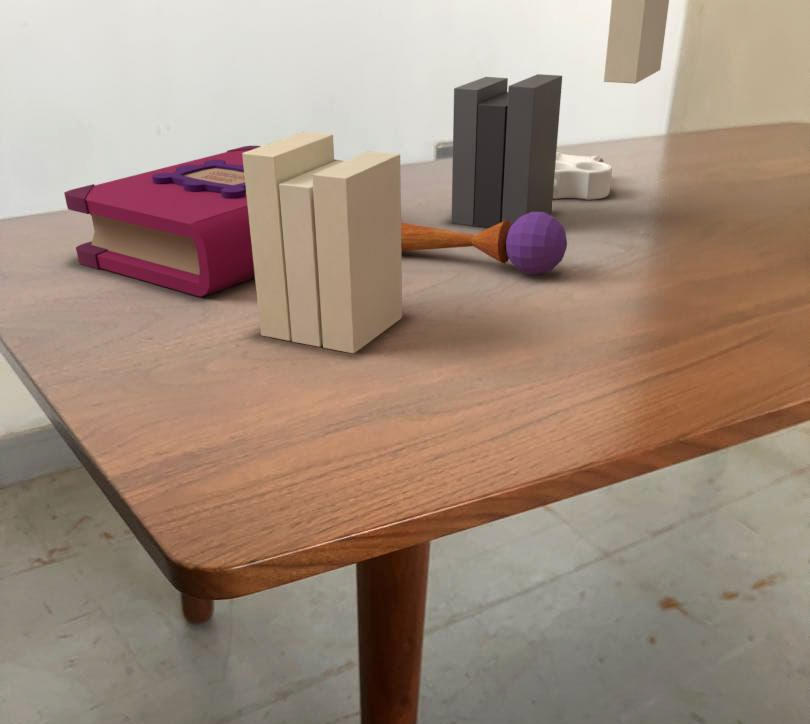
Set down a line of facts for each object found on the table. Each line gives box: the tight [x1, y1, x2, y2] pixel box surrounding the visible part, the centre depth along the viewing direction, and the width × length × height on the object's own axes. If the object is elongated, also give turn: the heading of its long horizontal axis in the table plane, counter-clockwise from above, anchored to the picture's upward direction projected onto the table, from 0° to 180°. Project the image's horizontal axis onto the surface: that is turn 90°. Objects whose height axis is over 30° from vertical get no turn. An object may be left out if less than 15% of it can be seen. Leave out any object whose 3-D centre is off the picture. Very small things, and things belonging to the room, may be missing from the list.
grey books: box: [451, 73, 563, 229], centre depth 105 cm, size 9×9×15 cm
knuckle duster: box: [553, 151, 613, 201], centre depth 121 cm, size 3×18×15 cm
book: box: [63, 145, 342, 298], centre depth 99 cm, size 21×28×8 cm
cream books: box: [242, 131, 403, 354], centre depth 77 cm, size 9×9×15 cm
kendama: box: [401, 212, 568, 276], centre depth 94 cm, size 6×6×20 cm
